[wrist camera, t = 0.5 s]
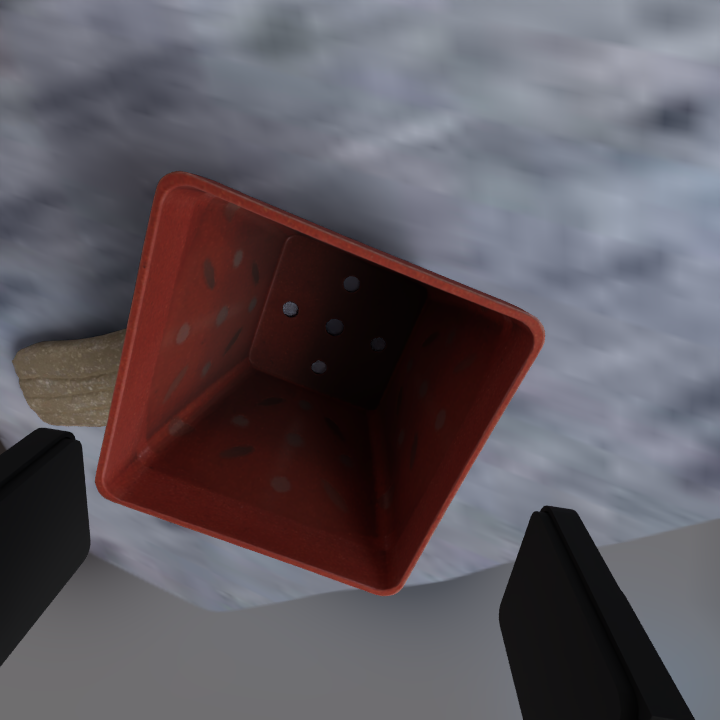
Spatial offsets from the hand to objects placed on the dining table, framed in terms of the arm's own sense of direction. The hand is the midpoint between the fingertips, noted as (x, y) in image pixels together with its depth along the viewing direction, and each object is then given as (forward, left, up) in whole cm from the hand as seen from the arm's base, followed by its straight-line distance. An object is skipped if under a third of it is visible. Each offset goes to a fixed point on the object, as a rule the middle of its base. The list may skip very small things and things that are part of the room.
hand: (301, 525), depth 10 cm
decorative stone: (+14, -21, -31) cm, 40 cm away
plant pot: (+5, -2, -31) cm, 31 cm away
